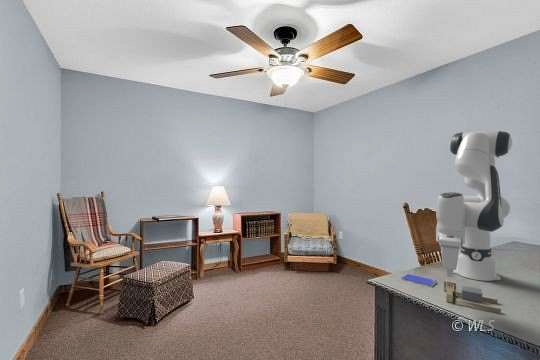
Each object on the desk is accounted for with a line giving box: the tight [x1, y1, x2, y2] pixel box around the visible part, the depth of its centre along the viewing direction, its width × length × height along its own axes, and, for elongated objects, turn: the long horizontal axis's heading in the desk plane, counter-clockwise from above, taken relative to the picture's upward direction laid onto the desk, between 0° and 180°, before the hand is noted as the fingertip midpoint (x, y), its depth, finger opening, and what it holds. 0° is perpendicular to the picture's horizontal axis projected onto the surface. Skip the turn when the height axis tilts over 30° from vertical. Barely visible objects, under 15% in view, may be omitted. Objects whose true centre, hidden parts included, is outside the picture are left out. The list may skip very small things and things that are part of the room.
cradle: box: [443, 279, 502, 314], centre depth 106 cm, size 14×17×4 cm
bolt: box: [445, 284, 454, 304], centre depth 110 cm, size 14×2×3 cm, turn 146°
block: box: [461, 285, 483, 304], centre depth 105 cm, size 6×6×5 cm
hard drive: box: [401, 273, 438, 288], centre depth 127 cm, size 2×8×12 cm
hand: (449, 276), depth 100 cm, fingers closed
